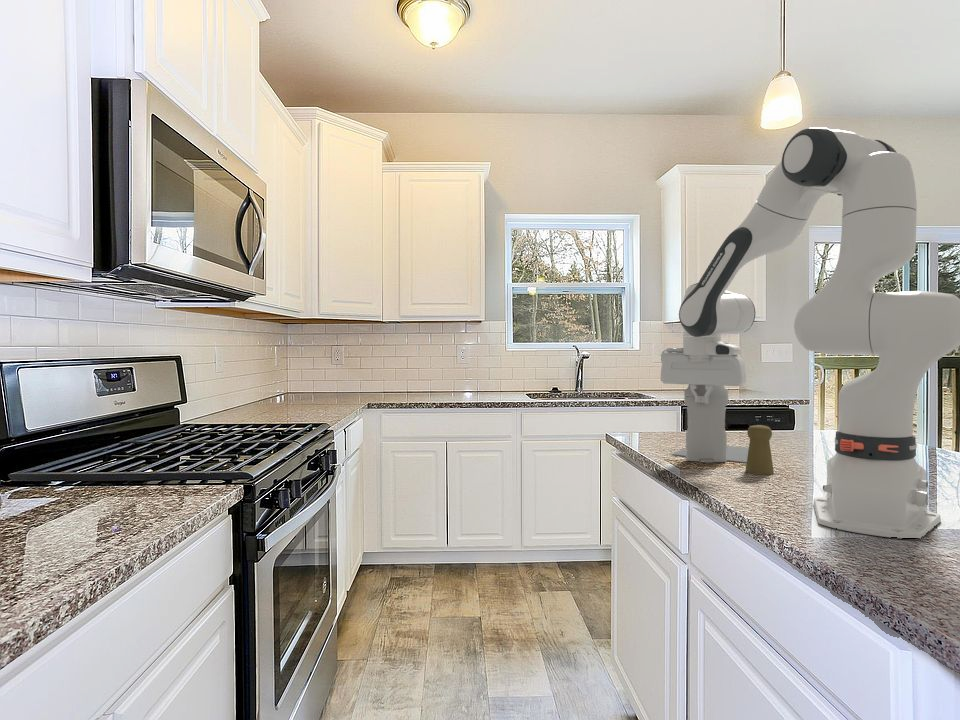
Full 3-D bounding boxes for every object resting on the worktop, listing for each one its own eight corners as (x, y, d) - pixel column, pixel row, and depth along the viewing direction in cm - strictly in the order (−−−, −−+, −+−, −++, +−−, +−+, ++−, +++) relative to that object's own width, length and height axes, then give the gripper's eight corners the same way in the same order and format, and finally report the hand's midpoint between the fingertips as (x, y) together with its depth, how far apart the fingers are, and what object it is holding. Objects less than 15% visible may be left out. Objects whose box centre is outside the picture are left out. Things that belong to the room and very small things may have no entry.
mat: (750, 463, 149) (750, 462, 149) (671, 455, 162) (671, 454, 162) (769, 450, 167) (769, 449, 167) (697, 443, 179) (697, 442, 179)
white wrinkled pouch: (684, 462, 152) (684, 376, 152) (683, 458, 156) (683, 375, 156) (729, 463, 150) (729, 376, 149) (727, 460, 154) (727, 375, 153)
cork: (742, 469, 143) (742, 423, 143) (768, 469, 142) (768, 423, 142) (749, 474, 137) (750, 427, 137) (777, 475, 136) (777, 427, 136)
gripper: (656, 348, 153) (656, 401, 154) (741, 348, 141) (741, 406, 141) (665, 347, 158) (665, 399, 159) (747, 347, 146) (747, 403, 146)
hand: (701, 402), depth 150 cm, fingers closed
